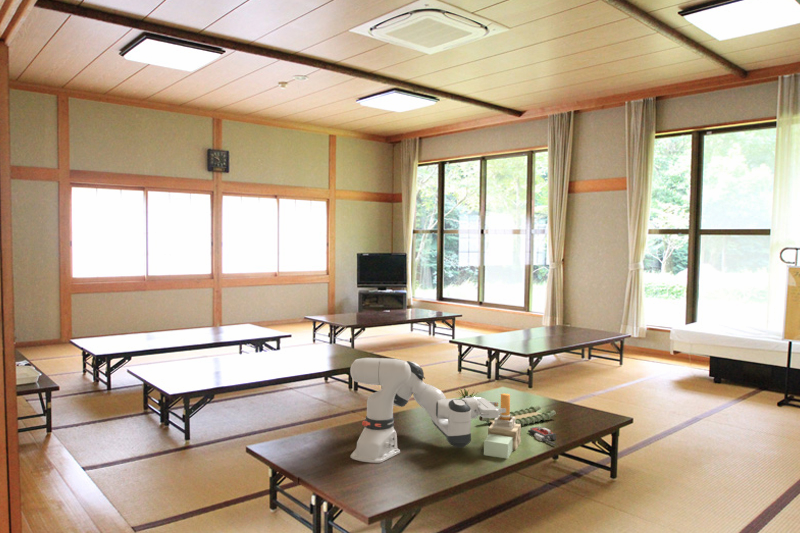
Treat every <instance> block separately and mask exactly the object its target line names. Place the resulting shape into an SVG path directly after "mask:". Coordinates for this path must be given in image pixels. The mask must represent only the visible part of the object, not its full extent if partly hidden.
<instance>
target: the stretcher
mask: <svg viewBox="0 0 800 533" xmlns="http://www.w3.org/2000/svg"><path fill="white" fill-rule="evenodd" d="M541 409H542V407H541V406H540V405H536V406H530V407H529V408H525V409H523V408H522V409H520V410H515V411H510V417H515V423H516V424H521V427H523V426H525V425H527V426H528V425H530V424H533V425H534V424H535V423H536V422H537V423H539V422H540V421H541V420H542V421H543V422H544V421H546V419H547V420H550V419H551V417H553V416H554V415H556V413H557V412H556V411H555V410H554V409H553V410H547V411H546V412H542V413H540V412H538V411H540V410H541ZM499 415H500V414H499ZM478 419H479V421H480V422H486V423H487V424H488V423H491V424H492V423H493V422H494V420H495V418H483V417H481V416H480V415H479V417H478Z"/></svg>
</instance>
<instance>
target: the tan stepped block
mask: <svg viewBox="0 0 800 533" xmlns="http://www.w3.org/2000/svg"><path fill="white" fill-rule="evenodd" d="M489 434H495V435H502V436H509V437H513V451H516V450H517V449H518V447H519V446H520V444H521V442H522V441H521V439H522V438H521V436H522V425H521V424H516V423H515V417H510V421H507V420H500V415H499V417H498V418H495V420H494V422H493V423H491V424H490V425H489V427H488V428H487V436H488V435H489Z"/></svg>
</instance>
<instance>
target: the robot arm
mask: <svg viewBox="0 0 800 533" xmlns="http://www.w3.org/2000/svg"><path fill="white" fill-rule="evenodd" d="M349 372H350V376H351V378H352V380H353V381H354V382H355V383H360V384H365V385H373V386H381V389H380V390H378V391H375V392H373V393H371V394H370V395H369V396H368V398H367V400H366V416H365V419H364V420H363V421H362V422H361V424H362V426H363V427H364V428H363V430H362V432H361V433H360V435H359V438H358V440H356V448H355V449H354V450H353V452H352V453H351V454H350V458H351V459H352V460H355V461H359V462H362V463H363V462H364V463H373V464H378V463H379V464H380V463H381V464H382V463H383V462H385V461H387V460H389V459H390V458H393V457H394V456H396V455H398V454H400V453H401V449H399V448H398V437H397V436H398V435H397V431H396V429H395V428H394V426H395V423H394V422H395V417H394V406H395V407H401V408H403V407H405V406H406V405H407V404H408V403H409V400H411V397H412V396H413V398H414V400H415V402H416V403H417V405H419V406H420V407H421V408H422V409H423V410H425V412H426V413H427V414H428V416H429V418H430V420H431V422H432V424H433V425H434V426H435V427H436V429H438V430H439V431H440V432H441V434H443V436H444V437H445V438H446V441H447V443H448V444H450V445H451V446H452V447H454V448H459V449H460V448H465V447H467V446H468V445H469V444H470V443H471V442H472V434H471V431H472V429H471V428H472V420H473V419H477V418H478V416H479V417H480V416H481V417H483V418H498V417H499V414H500V413H505V412H506V408H501V407H500V408H499V403H498V401H491V400H487V398H484V397H480V396H479V397H478V396H474V397H473V396H472V397H470V396H469V395H468V396H466V397H465V398H464V397H463V398H462V399H460V398H453V397H452V398H447V397H446V395H445V394H444V392H443V391H442V390H441V389H439V388H438V387H436V386H434V385H431V384H428V383H426V382H424V380H425V379H426V377H425V376H424V375H425V373H424V370H423V368H422V367H421V366H420V364H419V363H417V362H416V361H409V360H408V361H407V360H403V359H398V358H389V357H388V358H385V357H382V358H380V357H362V358H356V359H355V360H354V361H353V362H352V363H351V365H350V370H349ZM497 407H498V408H497ZM471 419H472V420H471Z"/></svg>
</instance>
